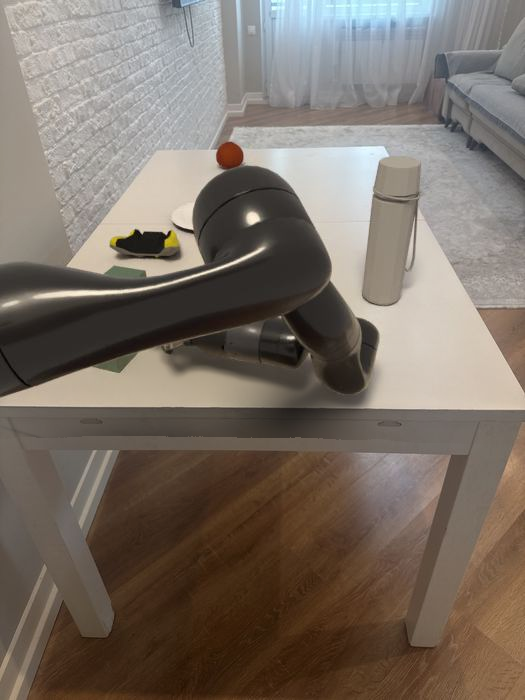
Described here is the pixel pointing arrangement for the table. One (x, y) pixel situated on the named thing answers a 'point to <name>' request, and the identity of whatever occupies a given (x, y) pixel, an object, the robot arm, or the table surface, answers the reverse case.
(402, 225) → the water bottle
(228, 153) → the fruit
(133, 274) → the block
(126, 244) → the toy running shoe
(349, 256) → the table surface
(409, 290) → the table surface
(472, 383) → the table surface
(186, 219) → the plate
